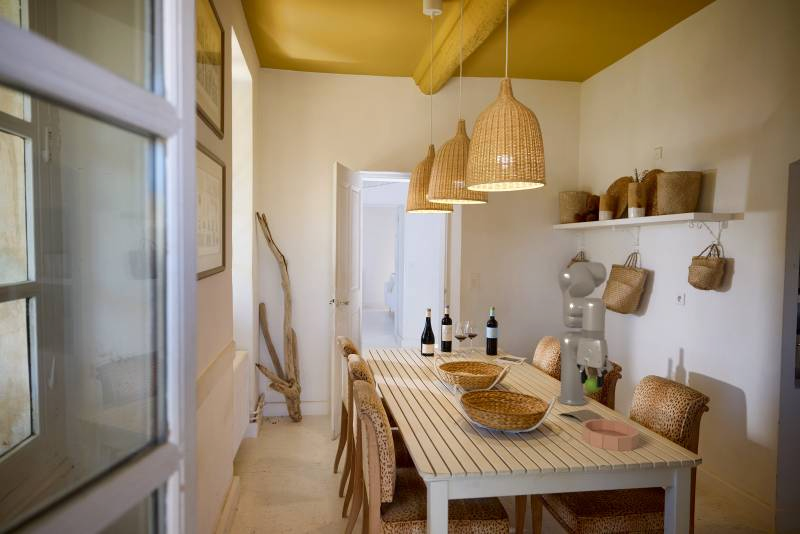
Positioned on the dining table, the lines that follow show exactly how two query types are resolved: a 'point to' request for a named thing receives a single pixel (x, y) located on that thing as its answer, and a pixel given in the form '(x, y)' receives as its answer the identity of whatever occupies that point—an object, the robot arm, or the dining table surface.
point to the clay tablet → (585, 415)
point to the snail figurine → (591, 379)
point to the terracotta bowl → (610, 434)
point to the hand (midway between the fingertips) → (592, 384)
